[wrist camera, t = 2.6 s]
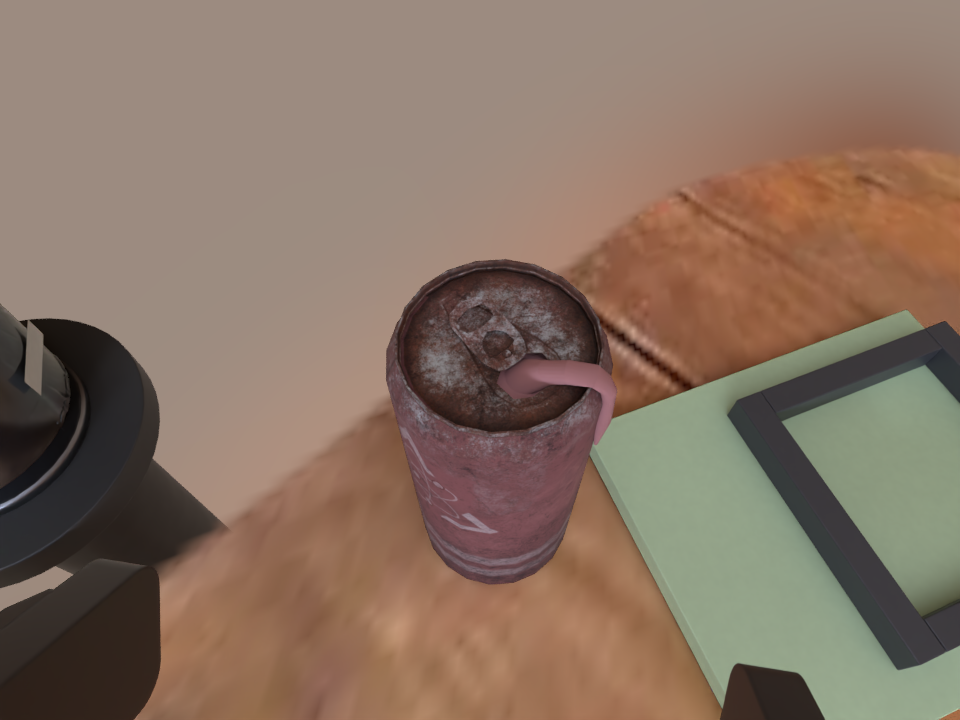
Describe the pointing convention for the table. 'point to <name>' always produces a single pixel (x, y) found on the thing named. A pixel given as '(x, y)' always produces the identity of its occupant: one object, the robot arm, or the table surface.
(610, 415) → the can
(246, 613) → the table surface
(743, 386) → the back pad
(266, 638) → the table surface
